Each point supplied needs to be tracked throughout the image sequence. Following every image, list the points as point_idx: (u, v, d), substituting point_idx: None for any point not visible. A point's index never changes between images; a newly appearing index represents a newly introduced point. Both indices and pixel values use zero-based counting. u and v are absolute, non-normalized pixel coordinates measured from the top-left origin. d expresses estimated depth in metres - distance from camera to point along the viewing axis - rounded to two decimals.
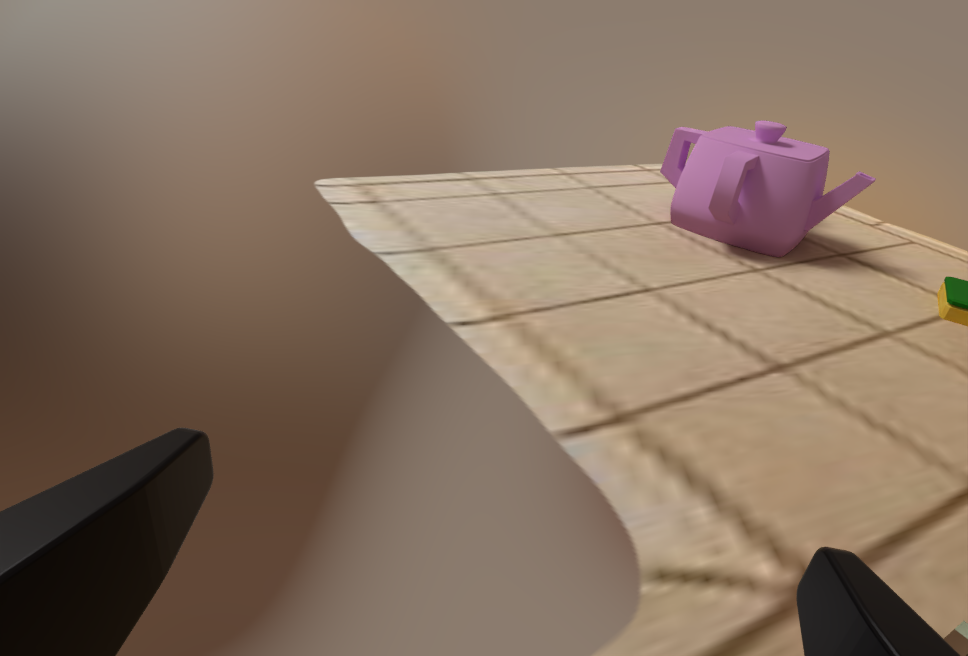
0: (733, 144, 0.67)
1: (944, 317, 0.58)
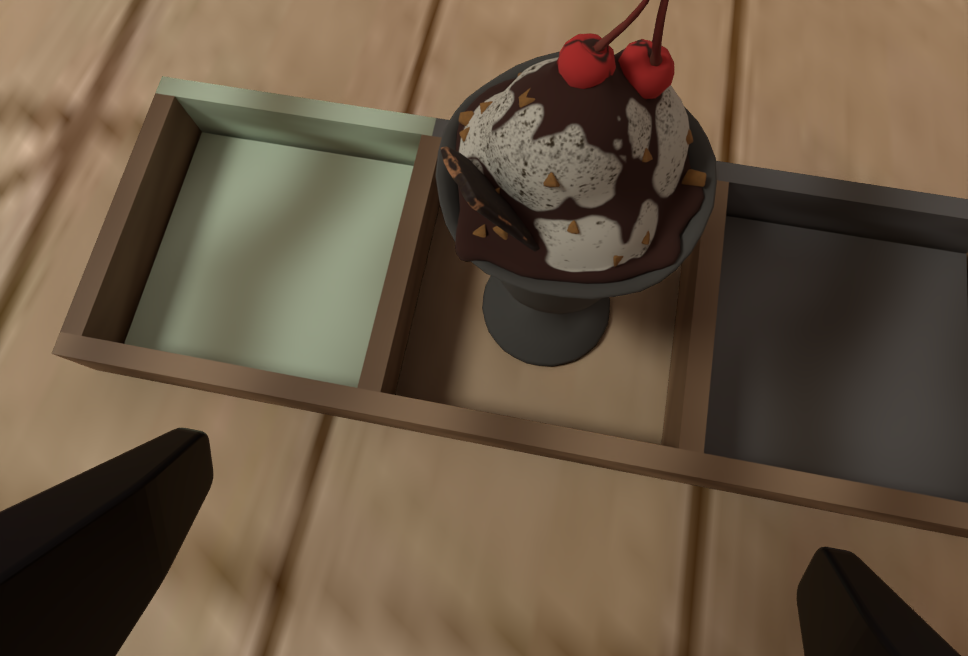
0: None
1: None
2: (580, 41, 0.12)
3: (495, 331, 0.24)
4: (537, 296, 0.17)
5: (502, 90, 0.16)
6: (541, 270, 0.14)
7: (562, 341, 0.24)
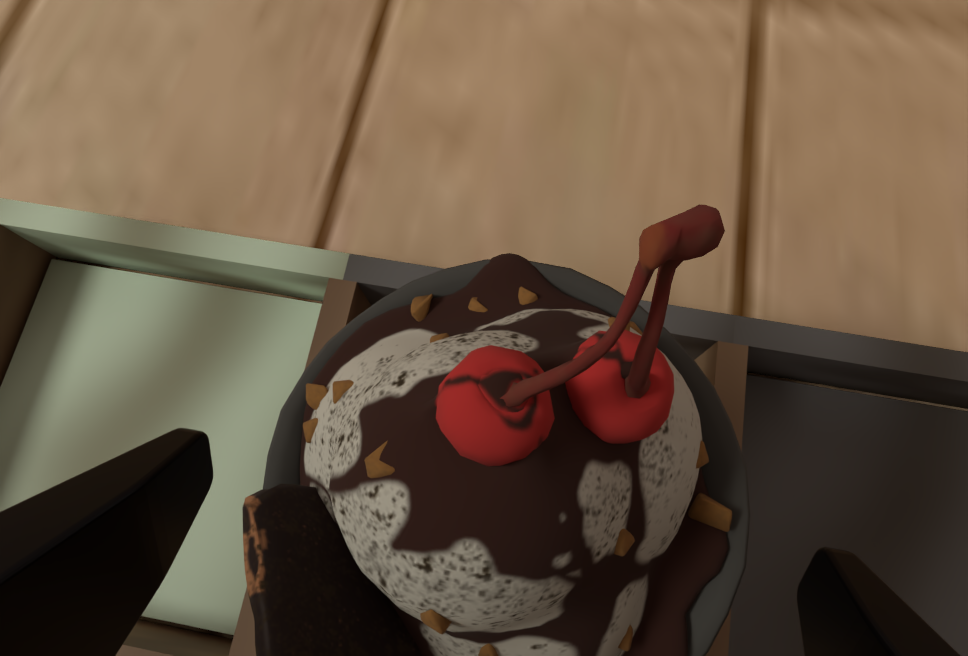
0: None
1: None
2: (476, 381, 0.06)
3: None
4: None
5: (384, 333, 0.09)
6: None
7: None
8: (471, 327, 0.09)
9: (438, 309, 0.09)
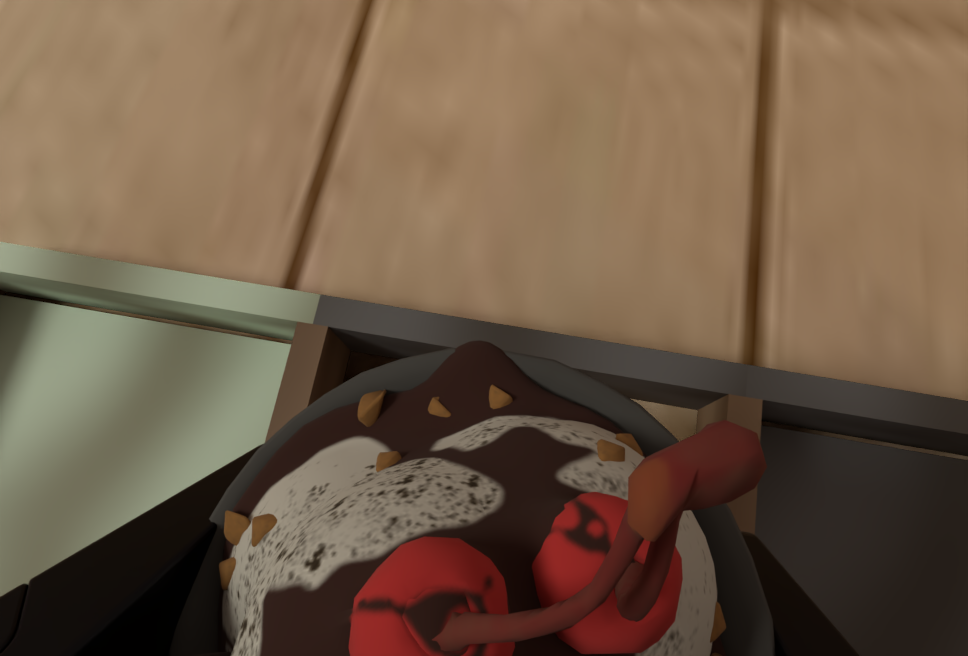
0: None
1: None
2: (399, 611, 0.04)
3: None
4: None
5: (325, 441, 0.08)
6: None
7: None
8: (429, 440, 0.07)
9: (391, 411, 0.08)
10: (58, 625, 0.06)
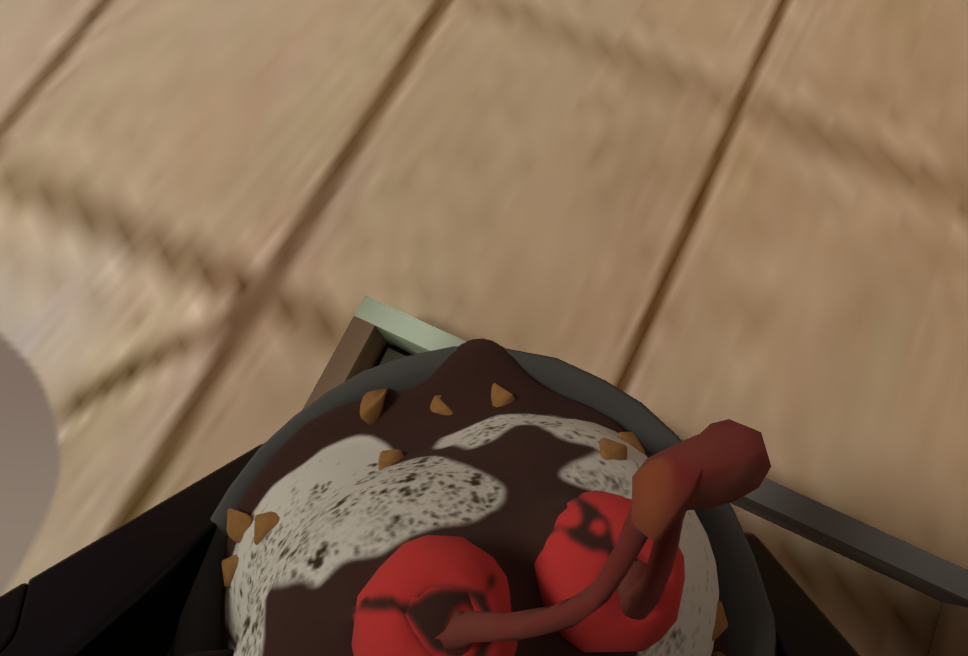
0: None
1: None
2: (403, 609, 0.04)
3: None
4: None
5: (327, 439, 0.08)
6: None
7: None
8: (431, 438, 0.07)
9: (393, 409, 0.08)
10: (58, 625, 0.06)
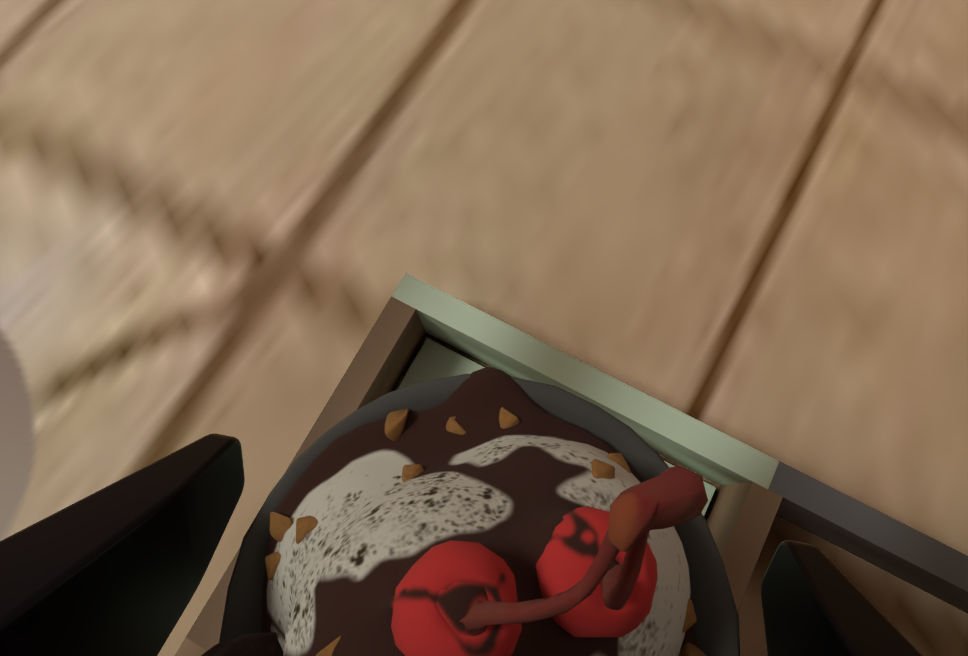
0: None
1: None
2: (433, 598, 0.05)
3: None
4: None
5: (355, 453, 0.09)
6: None
7: None
8: (447, 454, 0.08)
9: (414, 428, 0.09)
10: None
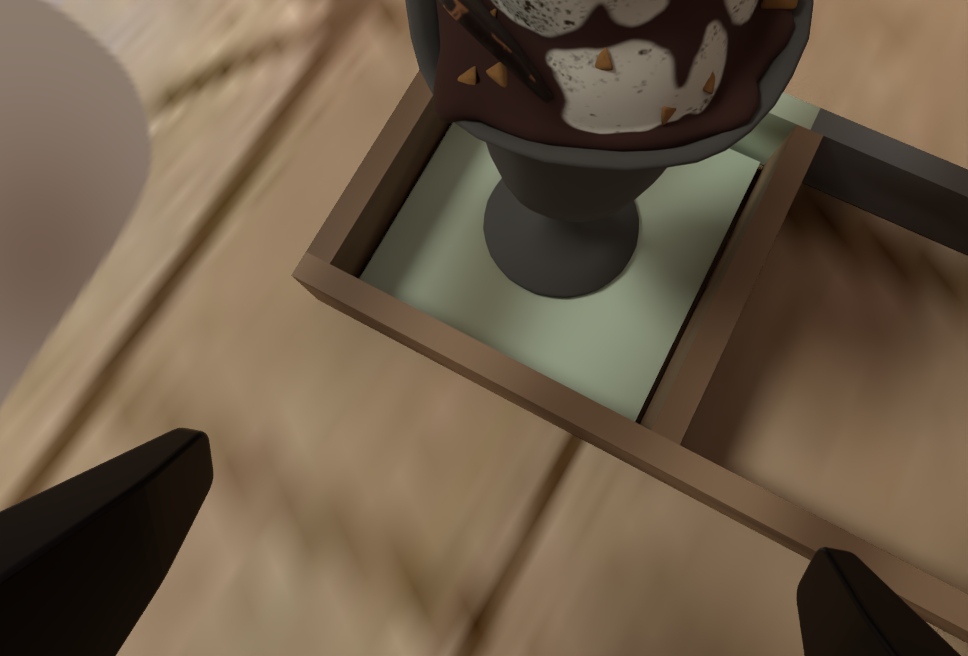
0: None
1: None
2: None
3: (498, 255, 0.20)
4: (550, 189, 0.13)
5: None
6: (556, 131, 0.10)
7: (580, 267, 0.19)
8: None
9: None
10: None
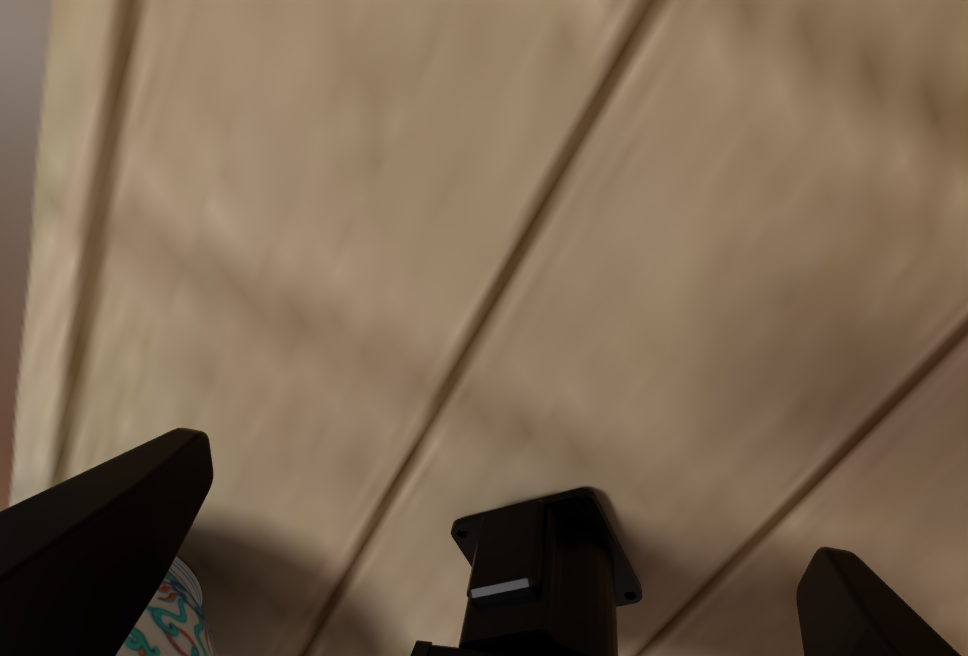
0: None
1: None
2: None
3: None
4: None
5: None
6: None
7: None
8: None
9: None
10: None
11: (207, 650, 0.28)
